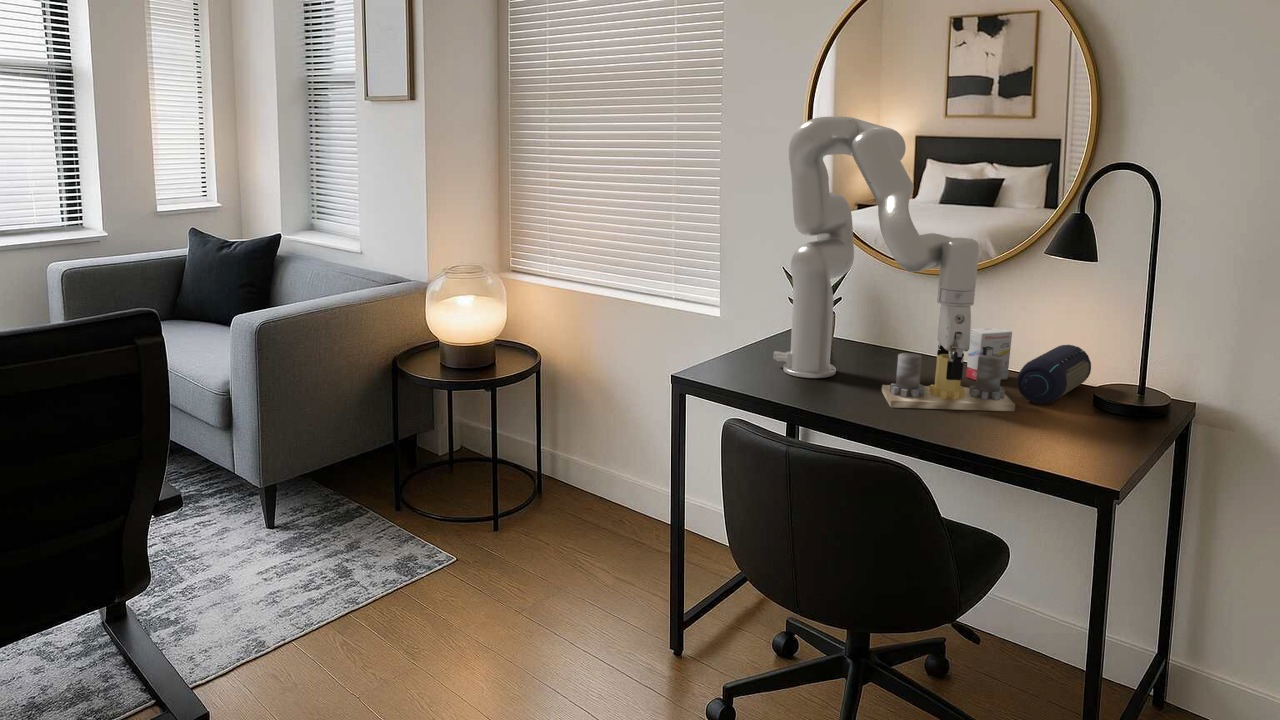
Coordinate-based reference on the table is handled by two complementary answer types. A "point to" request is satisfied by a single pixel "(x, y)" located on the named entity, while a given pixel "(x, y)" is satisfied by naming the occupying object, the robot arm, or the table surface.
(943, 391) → the gear
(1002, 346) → the ink box
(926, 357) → the table surface
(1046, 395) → the portable speaker
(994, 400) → the board
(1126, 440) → the table surface
